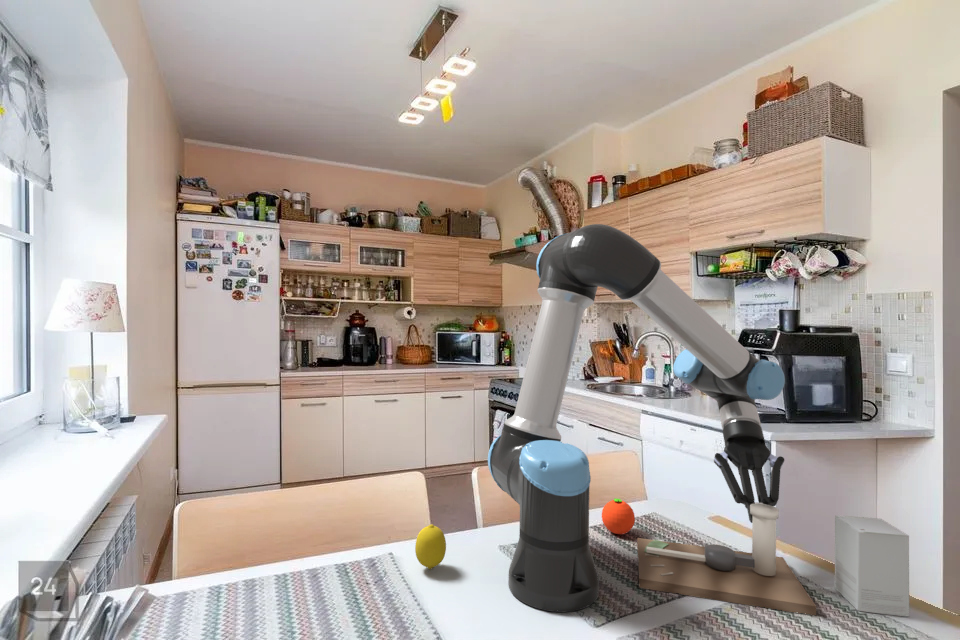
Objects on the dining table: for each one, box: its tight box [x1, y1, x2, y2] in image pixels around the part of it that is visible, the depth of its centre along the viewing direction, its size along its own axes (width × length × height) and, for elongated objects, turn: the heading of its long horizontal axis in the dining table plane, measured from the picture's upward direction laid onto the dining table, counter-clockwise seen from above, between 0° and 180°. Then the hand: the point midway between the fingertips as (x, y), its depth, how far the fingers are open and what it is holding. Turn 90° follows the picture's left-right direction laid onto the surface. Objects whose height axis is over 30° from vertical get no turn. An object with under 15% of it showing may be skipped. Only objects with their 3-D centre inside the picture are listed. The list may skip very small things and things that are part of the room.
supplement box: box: [834, 515, 910, 617], centre depth 80 cm, size 7×7×13 cm
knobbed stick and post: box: [647, 502, 780, 576], centre depth 89 cm, size 22×5×11 cm, turn 71°
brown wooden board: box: [636, 537, 817, 616], centre depth 87 cm, size 26×17×2 cm, turn 73°
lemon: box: [414, 523, 447, 570], centre depth 88 cm, size 6×6×8 cm
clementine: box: [601, 498, 636, 535], centre depth 106 cm, size 8×7×7 cm
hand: (764, 540), depth 88 cm, fingers closed
